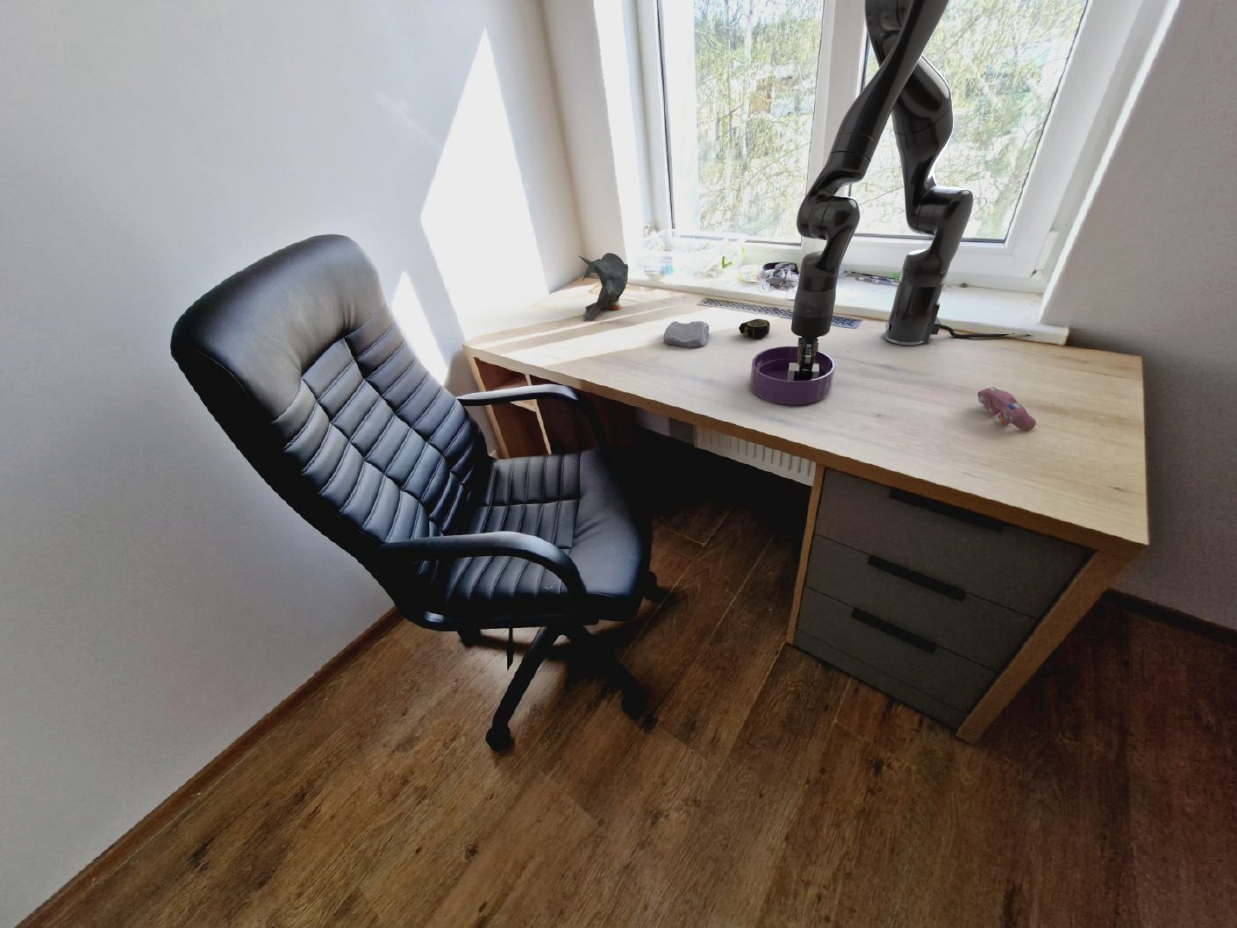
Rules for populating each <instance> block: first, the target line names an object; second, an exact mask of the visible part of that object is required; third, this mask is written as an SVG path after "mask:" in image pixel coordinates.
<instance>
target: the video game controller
mask: <svg viewBox="0 0 1237 928" xmlns="http://www.w3.org/2000/svg"><path fill="white" fill-rule="evenodd" d="M977 397H978V398H977V401H978V403H979V404H982V405H983V406H984V408H985V409H986V412H987V413H988V415H990V416H991V417H995V416H997V420H998V421H999V422H1000V424H1002V425H1003V426H1008V425H1009V424H1010V425H1013V426H1015V427H1016V428H1017V429H1019V430H1023V431H1031V430H1033V429H1034V428H1035V427H1036V425H1037V421H1036V419H1035V418H1034V417H1033V416H1031V415H1030V414H1029V413H1028V412H1027V410H1026V408H1025V407H1024V406H1023V405H1022V404H1021V403H1020V402H1019V401H1017V399H1016V398H1015V396H1014V395H1013V394H1012V393H1010V392H1008V391H1005V390H1001V389H998V388H997V387H996V386H992V387H988V388H984V389H982V390H980V391H978V392H977Z"/></svg>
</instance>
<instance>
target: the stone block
mask: <svg viewBox="0 0 1237 928" xmlns="http://www.w3.org/2000/svg"><path fill="white" fill-rule="evenodd" d="M709 333H710V325H709V324H708V323H707V322H706V321H703V320H700V321H699V320H698V321H690V322H686V323H684V322H679V321H672V322H671V323H670V324H668V326H667V327H666V328H665V330H664V333H663V341H664V343H665V344H670V345H676V346H678V347H683V348H690V349H692V348H693V349H694V348H701V347H703V346H704V345H705V344H707V339H708V336H709Z"/></svg>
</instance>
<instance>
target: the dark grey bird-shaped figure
mask: <svg viewBox="0 0 1237 928" xmlns="http://www.w3.org/2000/svg"><path fill="white" fill-rule="evenodd" d="M578 257H579V258H580V259H581V260H582V261H583V262H584V263H585V264H586V265H587V269H586V270H585V273H584V276H583V278H582V281H581V282H583V281H584V280H585V279H586V278H587V277H588V276H589V275H590V274H591V273H594V274H596V275H597V276H598V279H599V281H600V284H601V288H600V290H599V294H598V297H597V300H596V301H595V302H593V303H591V304H589V305H587V306H585V316H584V322H588V321H594V319H595V317H596V316H597V315H598V313H599V311H606V310H608V311H619V310H620V309H621V302H620V297H621V296H622V295H623V293H624V291H625V290H626V288H627V285H628V281H629V265H628V264H627V263H625V262H624V261H623V260H622V258H621V257H620V256H618V254H615V253H614V252H613V253H612V252H606V253H605V254H604V255H602V257H601V258H598V259H596V260H590V259H587V258H585V257H582V255H581V256H580V255H578Z"/></svg>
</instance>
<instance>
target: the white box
mask: <svg viewBox="0 0 1237 928" xmlns="http://www.w3.org/2000/svg"><path fill="white" fill-rule="evenodd" d="M798 370H799V365H798V364H797V363H790V364H789V372H788V379H787V381H797V380H798V373H797V372H798ZM803 370H806V369H803ZM818 375H819V364H814V365H813V368H812V375H811V377H809V380H812V379H816V378H818Z"/></svg>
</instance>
